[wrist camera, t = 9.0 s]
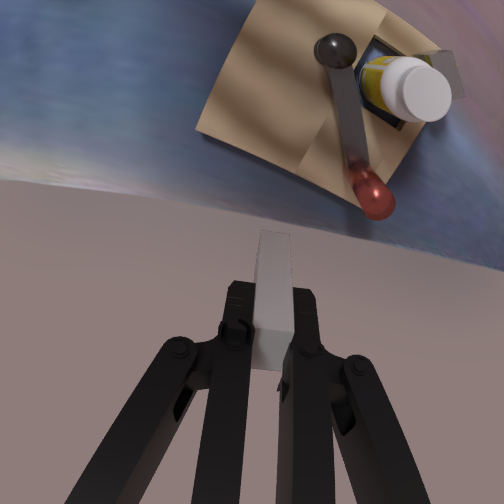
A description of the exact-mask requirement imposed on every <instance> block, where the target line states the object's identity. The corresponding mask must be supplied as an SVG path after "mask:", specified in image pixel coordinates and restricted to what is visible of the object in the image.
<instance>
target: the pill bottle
mask: <svg viewBox="0 0 504 504" xmlns="http://www.w3.org/2000/svg"><path fill="white" fill-rule="evenodd" d="M359 85H360V88H361V91H362V93H363V95H364V96H365V98H366V99H367V100H368V101H369V102H370V103H371V104H373V105H374V106H376V107H378V108H380V109H382V110H384V111H386V112H388V113H390V114H392V115H394V116H396V117H398V118H400V119H402V120H405V121H408V122H423V121H426V122H433V121H437V120H439V119H441V118H442V117H443V116H444V115H445V114H446V113H447V112H448V110H449V108H450V105H451V100H452V94H451V89H450V86H449V83H448V81H447V80H446V78H445V77H444V76H443V75H442V74H441V73H440V72H439V71H437V70H436V69H434V68H432V67H431V66H430V65H428V64H427V63H426V62H424V61H422V60H420V59H418V58H414V57H406V56H405V57H404V56H379V57H375V58H372V59H370V60H369V61H367V62H366V63H365V64H364V66H363V67H362V69H361V71H360V75H359Z"/></svg>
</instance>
